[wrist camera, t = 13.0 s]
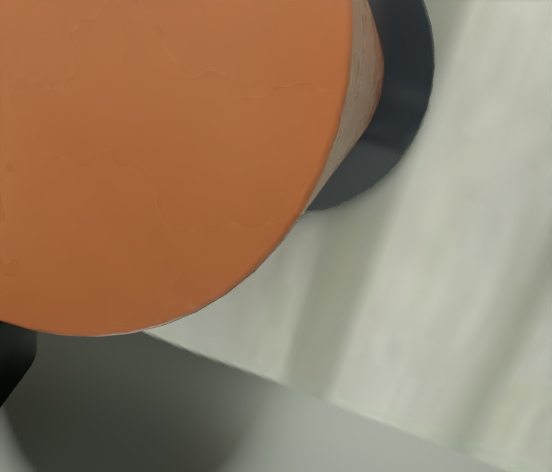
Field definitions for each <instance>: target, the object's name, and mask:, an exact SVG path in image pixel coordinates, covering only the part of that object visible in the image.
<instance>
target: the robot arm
mask: <svg viewBox="0 0 552 472" xmlns="http://www.w3.org/2000/svg"><path fill="white" fill-rule="evenodd" d="M37 338H38V331H33V330H30V329H26V328H23V327H20V326H16V325H13V324H9V323H6V322H3V321H0V407H1V406H2V405H3V403H4V402H5V401H6V399H7V398H8V396H9V395H10V394H11V392H12V391H13V390H14V388H15V387H16V386H17V384H18V383H19V381H20V380H21V379H22V377H23V376H24V374H25V373H26V372H27V370H28V369H29V368H30V366H31V365H32V363H33V361H34V358H35V355H36V351H37Z"/></svg>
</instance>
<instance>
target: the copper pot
mask: <svg viewBox="0 0 552 472" xmlns="http://www.w3.org/2000/svg"><path fill="white" fill-rule="evenodd" d="M383 77H384V59H383V52H382V46H381V42H380V39H379V35H378V32H377V28H376V25H375V22H374V19H373V16H372V13H371V9H370V6H369V3H368V0H0V321H3V322H6V323H9V324H13V325H16V326H20V327H23V328H26V329H30V330H33V331H39V332H46V333H52V334H58V335H64V336H92V337H100V336H109V335H118V334H128V333H135V332H139V331H143V330H147V329H151V328H155V327H159V326H163V325H166V324H168V323H171V322H173V321H176V320H178V319H180V318H183V317H185V316H188V315H190V314H193V313H195V312H197V311H199V310H201V309H202V308H204V307H206V306H207V305H209V304H211V303H212V302H214V301H216V300H217V299H219V298H221V297H222V296H224V295H226V294H227V293H228V292H230V291H231V290H232V289H233V288H235V287H236V286H237V285H238V284H240V283H241V282H242V281H243V280H245V279H246V278H247V277H248V276H250V275H251V274H252V273H253V272H255V271H256V269H257V268H258V267H259V266H260V265H261V264H262V263H263V262H264V261H265V260H266V259H267V258H268V257H269V255H270V254H271V253H272V252H273V251H274V250H275V249H276V248H277V247H278V246H279V245H280V244H281V242H282V241H283V240H284V238H285V237H286V236H287V234H288V233H289V232H290V230H291V229H292V228H293V226H294V225H295V224H296V222H297V221H298V220H299V218H300V217H301V216H302V214H303V213H304V212H305V210H306V209H307V208H308V206H309V205H310V204H311V202H312V201H313V200H314V198H315V197H316V196H317V194H318V193H319V192H320V190H321V189H322V188H323V186H324V185H325V184H326V182H327V181H328V180H329V178H330V177H331V176H332V174H333V173H334V172H335V170H336V169H337V167H338V166H339V165H340V163H341V162H342V161H343V159H344V158H345V157H346V155H347V154H348V153H349V151H350V150H351V149H352V147H353V146H354V145H355V143H356V142H357V141H358V139H359V138H360V137H361V135H362V134H363V132H364V131H365V130H366V128H367V127H368V125H369V123H370V121H371V119H372V117H373V116H374V113H375V111H376V108H377V105H378V103H379V100H380V95H381V91H382V86H383Z"/></svg>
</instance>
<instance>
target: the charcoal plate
mask: <svg viewBox="0 0 552 472" xmlns="http://www.w3.org/2000/svg"><path fill="white" fill-rule="evenodd" d="M368 3H369V6H370V9H371V13H372V16H373V19H374V22H375V25H376V28H377V32H378V35H379V39H380V42H381V46H382V52H383V59H384V77H383V86H382V91H381V95H380V100H379V103H378V105H377V108H376V111H375V113H374V116H373V117H372V119H371V121H370V123H369V125H368V127H367V128H366V130H365V131H364V132H363V134H362V135H361V137H360V138H359V139H358V141H357V142H356V143H355V145H354V146H353V147H352V149H351V150H350V151H349V153H348V154H347V155H346V157H345V158H344V159H343V161H342V162H341V163H340V165H339V166H338V167H337V169H336V170H335V172H334V173H333V174H332V176H331V177H330V178H329V180H328V181H327V182H326V184H325V185H324V186H323V188H322V189H321V190H320V192H319V193H318V194H317V196H316V197H315V198H314V200H313V201H312V202H311V204H310V205H309V206H308V208H307V209H306V210H305V212H304V213H307V212H313V211H318V210H324V209H327V208H330V207H333V206H336V205H339V204H342V203H344V202H346V201H348V200H350V199H353V198H355V197H357V196H358V195H360V194H361V193H363V192H365V191H366V190H368V189H369V188H371V187H372V186H374V185H375V184H376V183H377V182H378V181H380V180H381V179H382V178H383V177H384V176H386V175H387V174H388V173H389V171H390V170H391V169H392V168H393V167H394V166H395V165H396V164H397V163H398V162H399V161H400V159H401V158H402V156H403V155H404V154H405V152H406V151H407V149H408V148H409V147H410V145H411V143H412V142H413V140H414V138H415V136H416V134H417V132H418V130H419V129H420V126H421V124H422V121H423V119H424V116H425V113H426V111H427V108H428V104H429V100H430V96H431V91H432V86H433V77H434V68H435V62H434V41H433V35H432V28H431V23H430V19H429V16H428V13H427V9H426V6H425V3H424V0H368Z"/></svg>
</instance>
